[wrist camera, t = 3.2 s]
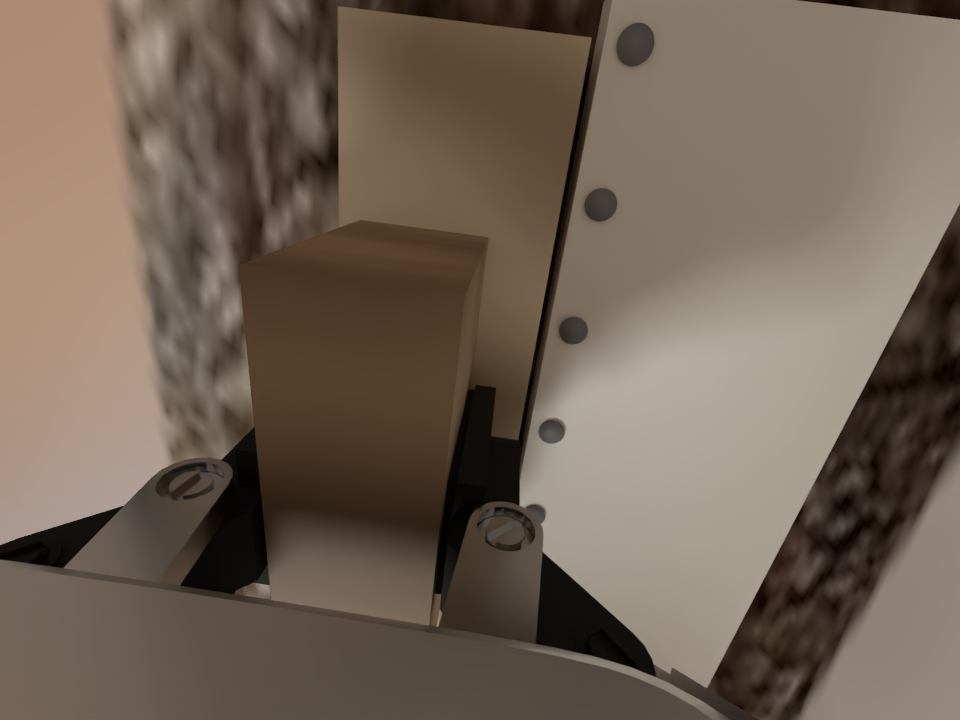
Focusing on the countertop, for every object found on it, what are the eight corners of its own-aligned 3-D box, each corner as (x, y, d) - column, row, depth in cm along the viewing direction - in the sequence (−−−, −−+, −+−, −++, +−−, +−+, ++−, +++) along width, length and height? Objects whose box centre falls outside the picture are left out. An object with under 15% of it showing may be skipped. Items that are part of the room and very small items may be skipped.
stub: (483, 607, 18) (465, 836, 12) (355, 587, 18) (272, 804, 12) (582, 54, 10) (668, -96, 4) (361, 26, 10) (148, -156, 4)
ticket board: (690, 652, 18) (705, 696, 16) (488, 621, 18) (485, 661, 17) (975, 49, 10) (1055, 29, 8) (603, 4, 10) (618, -24, 8)
